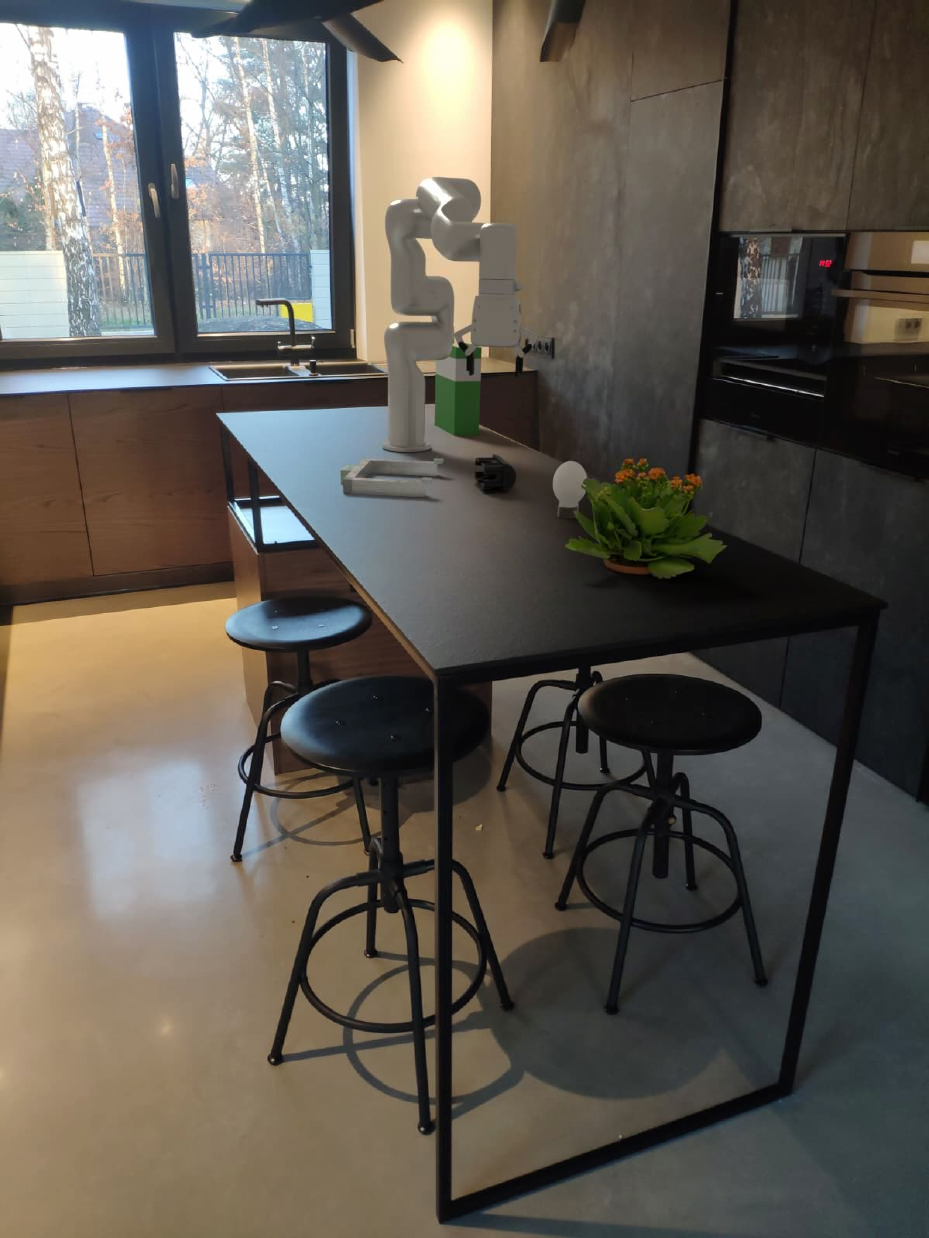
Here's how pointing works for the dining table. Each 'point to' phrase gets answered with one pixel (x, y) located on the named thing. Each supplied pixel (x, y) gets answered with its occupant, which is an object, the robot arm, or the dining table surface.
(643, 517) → the potted flower
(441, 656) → the dining table surface
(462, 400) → the green white box
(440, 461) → the mounting bracket
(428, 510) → the dining table surface
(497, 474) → the end cap
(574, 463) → the light bulb
